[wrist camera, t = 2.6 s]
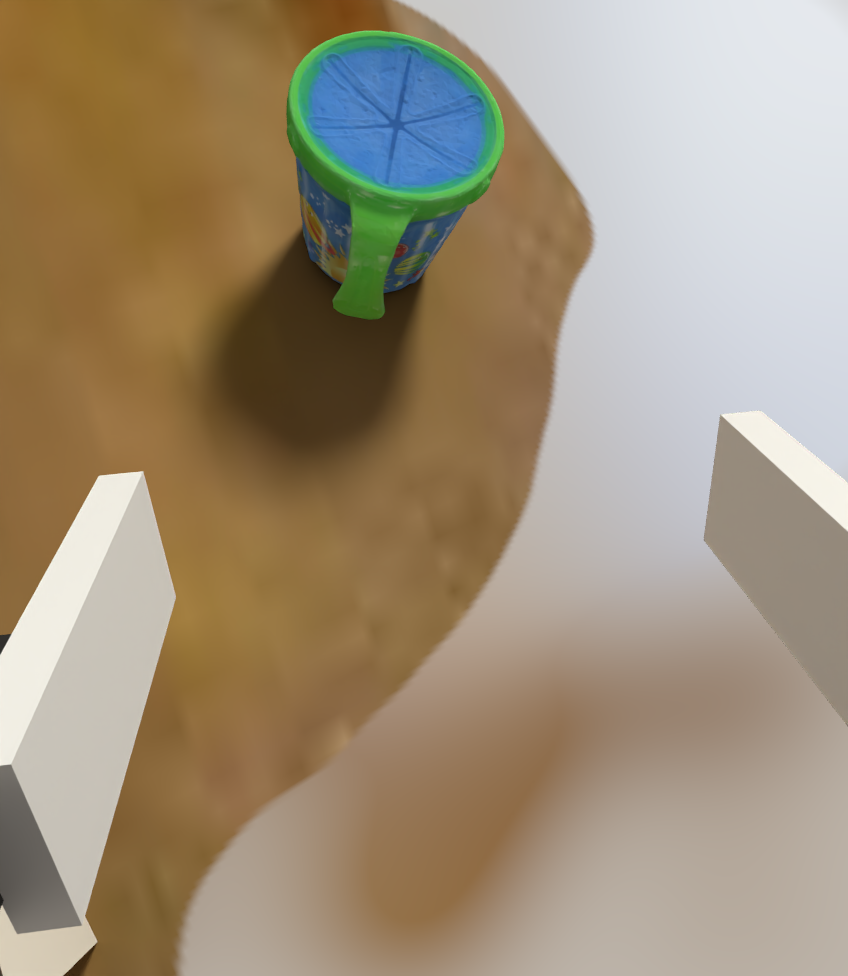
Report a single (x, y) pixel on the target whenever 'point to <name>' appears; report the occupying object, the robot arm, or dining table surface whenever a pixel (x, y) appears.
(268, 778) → the dining table surface
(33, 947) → the button pillar
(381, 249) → the snack cup
